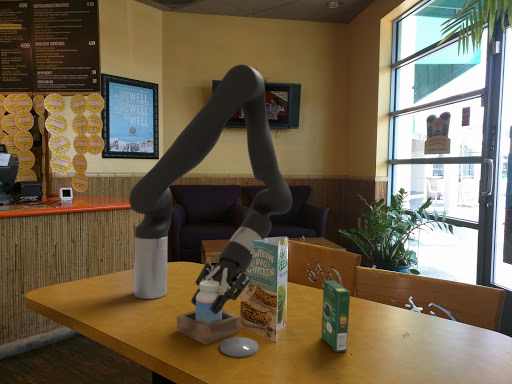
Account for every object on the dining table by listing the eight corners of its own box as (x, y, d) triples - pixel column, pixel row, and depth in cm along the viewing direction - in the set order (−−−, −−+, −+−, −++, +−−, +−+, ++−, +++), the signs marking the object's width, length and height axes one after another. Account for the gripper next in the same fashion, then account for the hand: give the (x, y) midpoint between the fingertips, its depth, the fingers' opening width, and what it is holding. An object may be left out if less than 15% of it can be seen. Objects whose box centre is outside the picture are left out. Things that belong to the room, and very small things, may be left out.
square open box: (176, 330, 89) (177, 315, 88) (210, 319, 96) (211, 305, 96) (205, 345, 82) (206, 328, 82) (239, 331, 89) (240, 316, 89)
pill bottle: (217, 338, 85) (218, 287, 85) (191, 335, 87) (192, 285, 86) (224, 327, 91) (226, 280, 91) (200, 324, 93) (201, 278, 92)
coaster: (212, 347, 81) (212, 345, 81) (239, 336, 86) (239, 334, 86) (239, 361, 75) (239, 358, 75) (266, 348, 81) (266, 345, 81)
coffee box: (348, 352, 80) (351, 290, 80) (335, 353, 80) (338, 290, 79) (332, 336, 88) (334, 279, 88) (320, 337, 87) (322, 280, 87)
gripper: (214, 236, 98) (174, 291, 90) (256, 244, 89) (216, 307, 81) (229, 254, 103) (192, 308, 94) (270, 263, 93) (233, 325, 85)
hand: (203, 308), depth 87 cm, fingers closed on pill bottle, 6 cm apart
